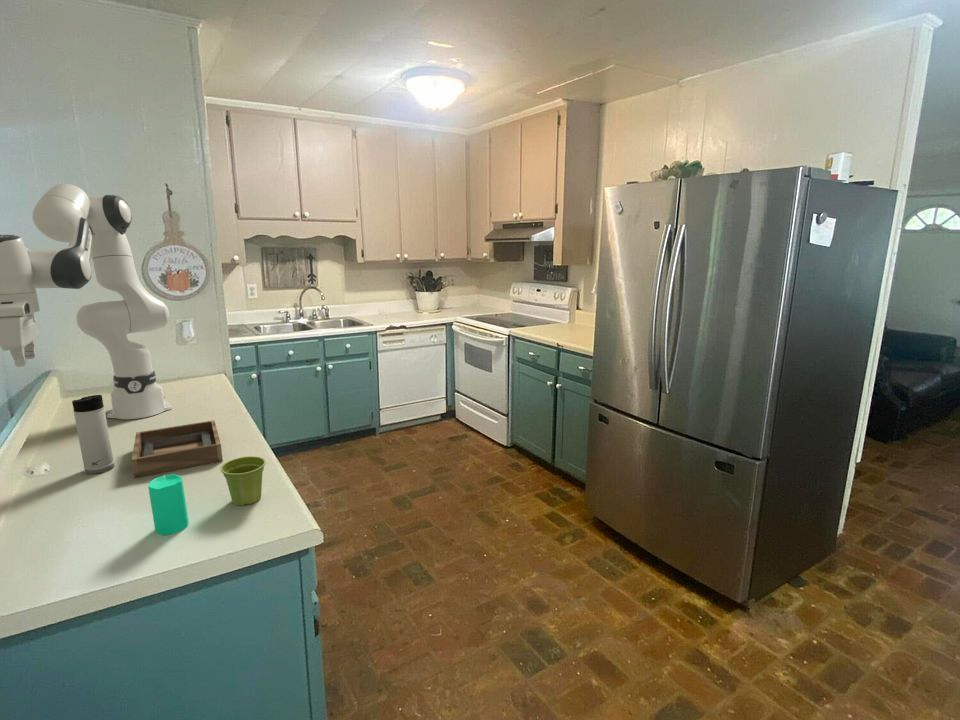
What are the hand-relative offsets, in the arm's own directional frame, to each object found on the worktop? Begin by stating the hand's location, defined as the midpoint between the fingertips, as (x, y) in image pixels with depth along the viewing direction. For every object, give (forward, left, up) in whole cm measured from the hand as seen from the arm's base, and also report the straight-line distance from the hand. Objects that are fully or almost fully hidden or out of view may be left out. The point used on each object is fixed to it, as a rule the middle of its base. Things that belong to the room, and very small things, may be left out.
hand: (26, 362), depth 126 cm
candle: (+45, +27, -30) cm, 60 cm away
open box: (+3, +29, -30) cm, 41 cm away
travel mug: (+3, +11, -30) cm, 32 cm away
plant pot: (+40, +42, -30) cm, 65 cm away
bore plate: (+3, +29, -30) cm, 41 cm away
